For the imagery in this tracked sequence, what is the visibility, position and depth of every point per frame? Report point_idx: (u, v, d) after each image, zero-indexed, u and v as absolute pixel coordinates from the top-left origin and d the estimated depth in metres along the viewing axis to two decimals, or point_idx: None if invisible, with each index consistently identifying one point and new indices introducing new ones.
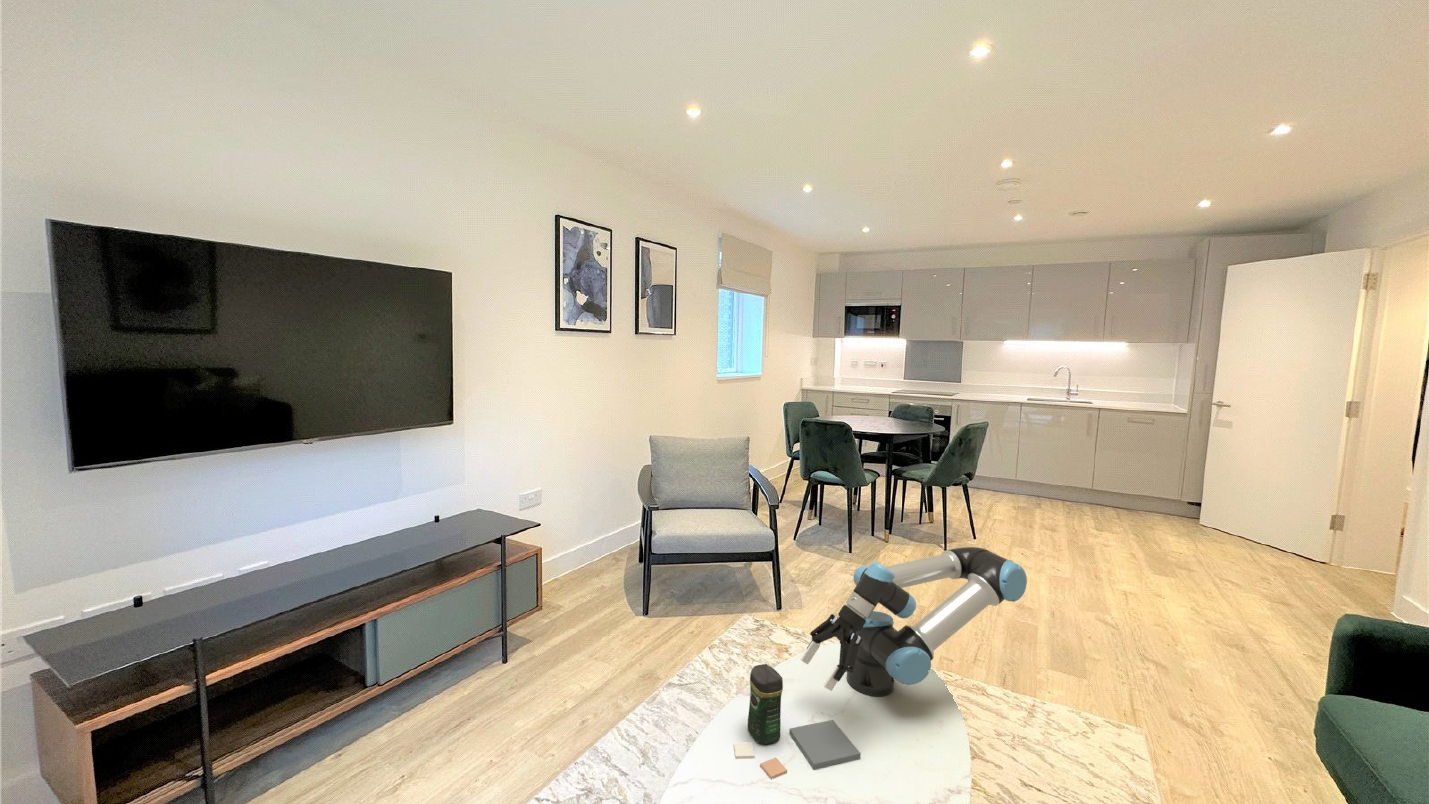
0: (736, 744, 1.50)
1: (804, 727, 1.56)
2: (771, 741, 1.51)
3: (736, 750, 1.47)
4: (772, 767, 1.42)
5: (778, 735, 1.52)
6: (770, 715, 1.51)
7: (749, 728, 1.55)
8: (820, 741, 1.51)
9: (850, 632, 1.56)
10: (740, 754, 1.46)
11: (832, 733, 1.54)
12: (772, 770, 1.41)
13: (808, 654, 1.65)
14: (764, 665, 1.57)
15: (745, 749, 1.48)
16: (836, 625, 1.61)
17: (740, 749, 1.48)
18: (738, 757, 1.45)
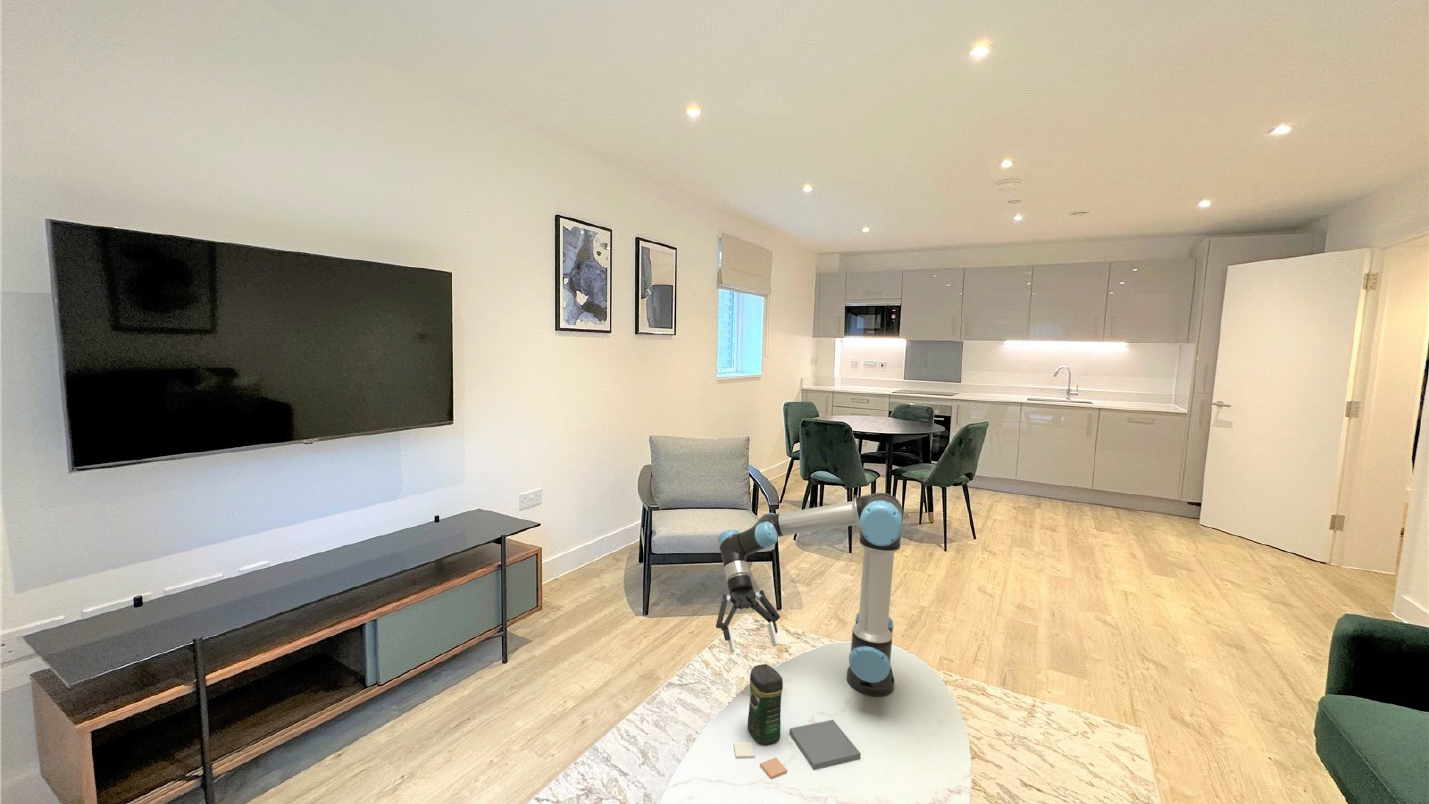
0: (736, 744, 1.50)
1: (804, 727, 1.56)
2: (771, 741, 1.51)
3: (736, 750, 1.47)
4: (772, 767, 1.42)
5: (778, 735, 1.52)
6: (770, 715, 1.51)
7: (749, 728, 1.55)
8: (820, 741, 1.51)
9: None
10: (741, 754, 1.46)
11: (832, 733, 1.54)
12: (772, 770, 1.41)
13: (771, 636, 1.66)
14: (764, 665, 1.57)
15: (745, 749, 1.48)
16: None
17: (740, 749, 1.48)
18: (738, 757, 1.45)
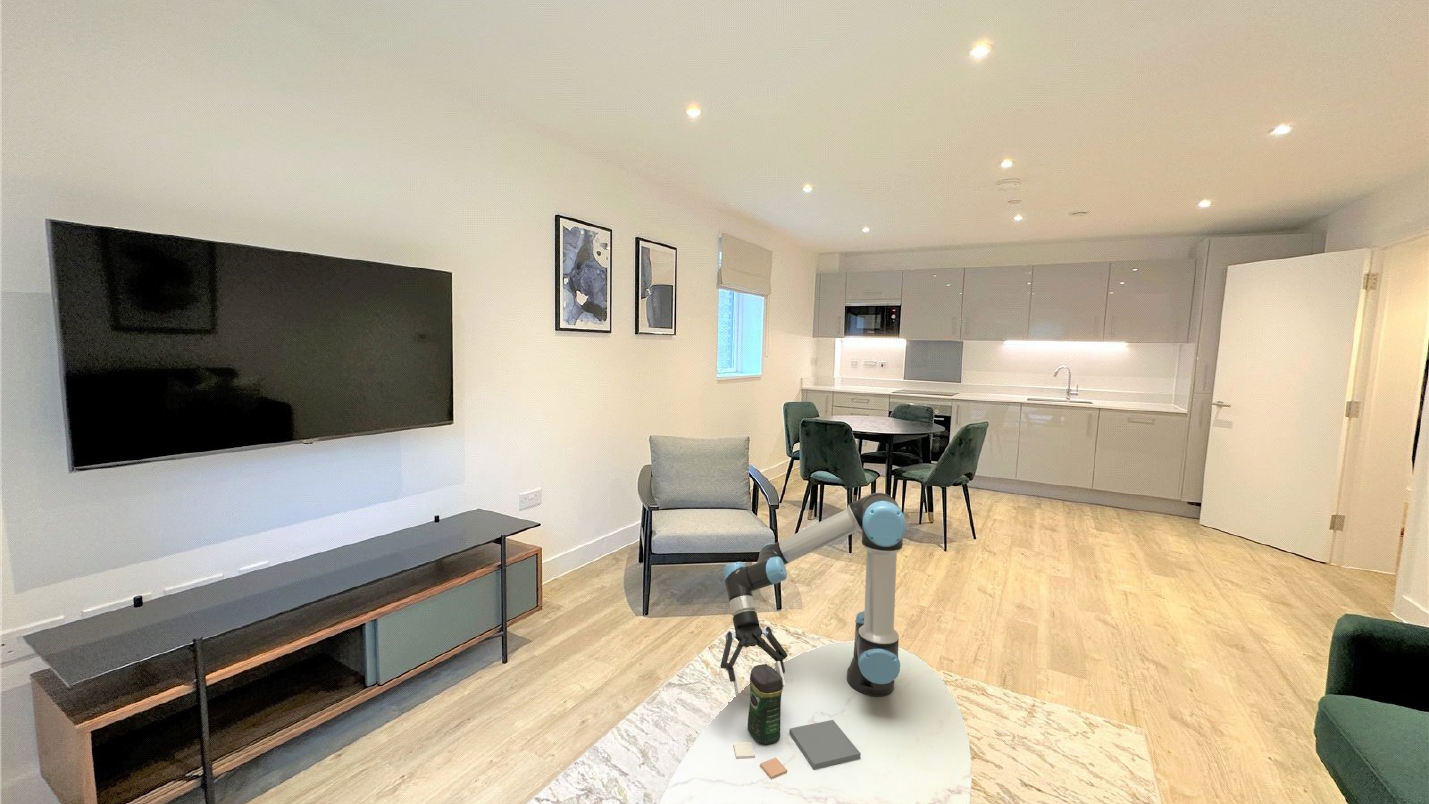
0: (736, 744, 1.50)
1: (804, 727, 1.56)
2: (771, 741, 1.51)
3: (736, 750, 1.47)
4: (772, 767, 1.42)
5: (778, 735, 1.52)
6: (770, 715, 1.51)
7: (749, 728, 1.55)
8: (820, 741, 1.51)
9: None
10: (741, 754, 1.46)
11: (832, 733, 1.54)
12: (772, 770, 1.41)
13: None
14: (764, 665, 1.57)
15: (745, 749, 1.48)
16: None
17: (740, 749, 1.48)
18: (739, 757, 1.45)
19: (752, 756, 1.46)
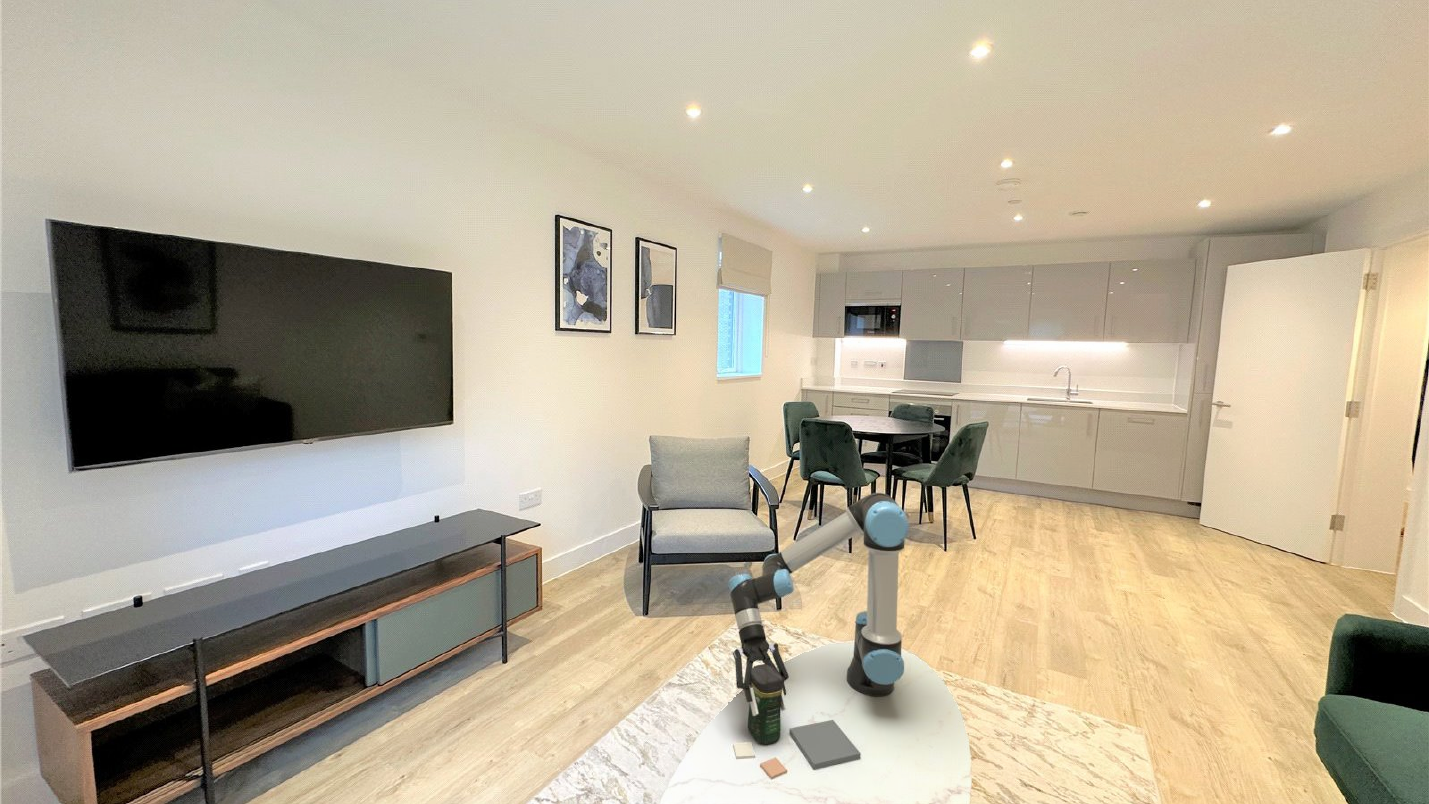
0: (736, 744, 1.49)
1: (804, 727, 1.56)
2: (771, 741, 1.51)
3: (736, 750, 1.47)
4: (772, 767, 1.42)
5: (778, 735, 1.52)
6: (769, 715, 1.51)
7: (749, 728, 1.55)
8: (820, 741, 1.51)
9: None
10: (741, 754, 1.46)
11: (832, 733, 1.54)
12: (772, 770, 1.41)
13: None
14: (764, 665, 1.57)
15: (745, 749, 1.48)
16: None
17: (740, 749, 1.48)
18: (739, 757, 1.45)
19: (752, 756, 1.46)
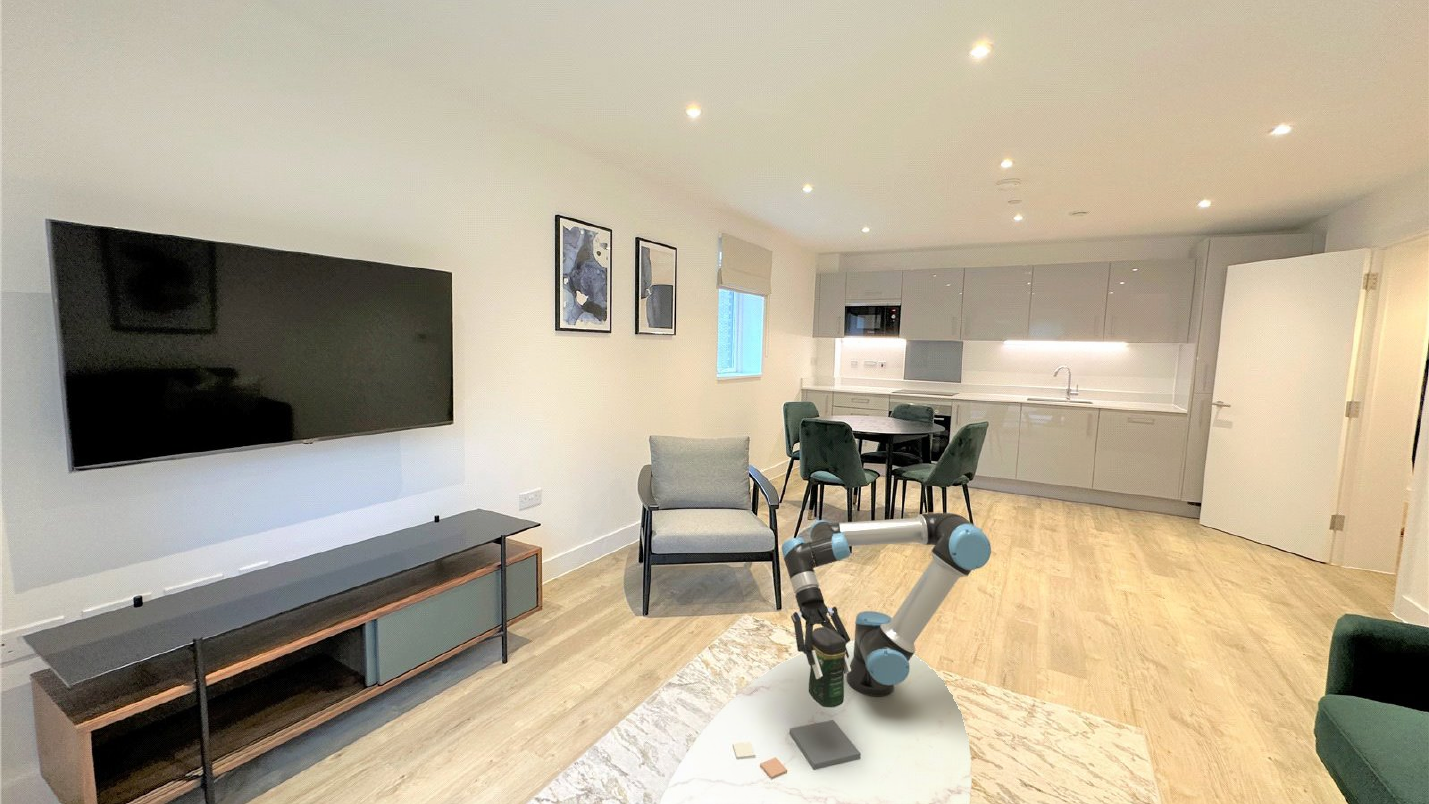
0: (735, 745, 1.49)
1: (804, 727, 1.56)
2: (835, 704, 1.46)
3: (736, 751, 1.47)
4: (772, 767, 1.42)
5: (842, 698, 1.47)
6: (833, 678, 1.45)
7: (811, 692, 1.50)
8: (820, 741, 1.51)
9: None
10: (741, 754, 1.46)
11: (832, 733, 1.54)
12: (772, 770, 1.41)
13: None
14: (825, 628, 1.52)
15: (745, 749, 1.48)
16: None
17: (740, 749, 1.48)
18: (739, 757, 1.45)
19: (752, 756, 1.46)
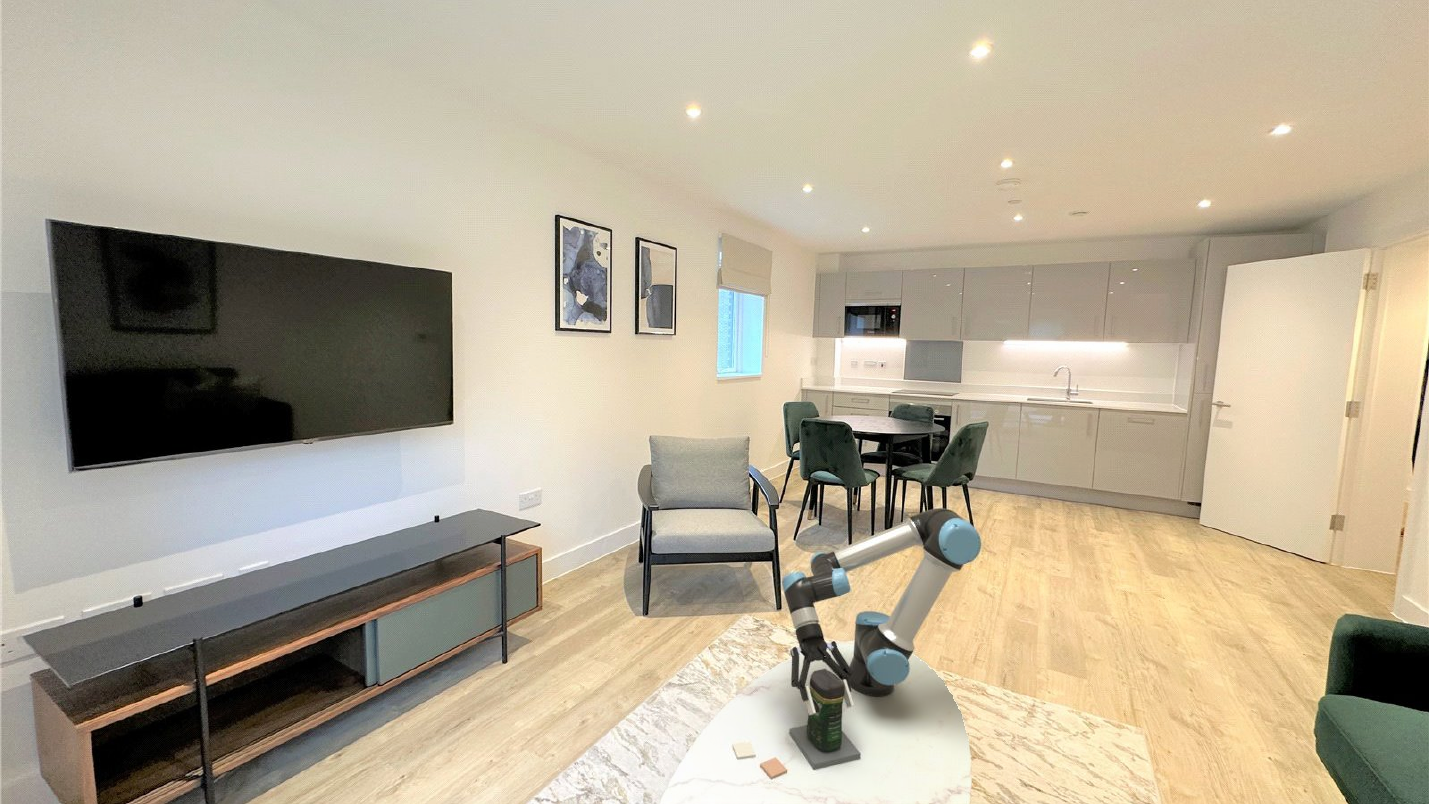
0: (735, 745, 1.49)
1: (804, 727, 1.56)
2: (833, 748, 1.47)
3: (736, 751, 1.47)
4: (772, 767, 1.42)
5: (840, 742, 1.48)
6: (832, 722, 1.46)
7: (809, 735, 1.51)
8: None
9: None
10: (742, 754, 1.46)
11: None
12: (772, 770, 1.41)
13: (845, 696, 1.51)
14: (824, 670, 1.53)
15: (745, 749, 1.48)
16: None
17: (740, 749, 1.48)
18: (740, 758, 1.45)
19: (753, 755, 1.46)
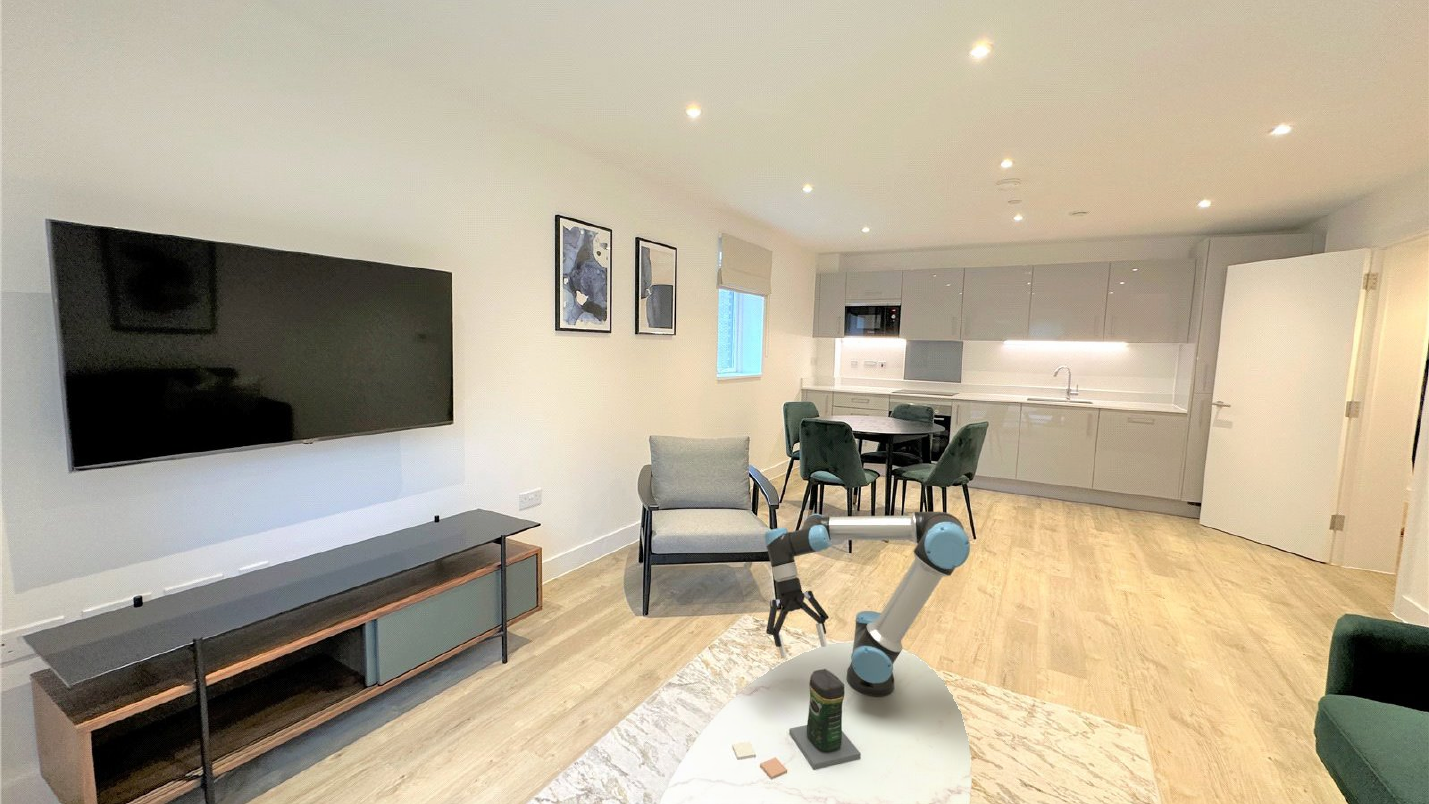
0: (735, 745, 1.49)
1: (804, 727, 1.56)
2: (833, 748, 1.47)
3: (737, 751, 1.47)
4: (772, 767, 1.42)
5: (840, 742, 1.48)
6: (832, 722, 1.46)
7: (809, 735, 1.51)
8: None
9: None
10: (742, 754, 1.46)
11: None
12: (772, 770, 1.41)
13: (820, 637, 1.68)
14: (824, 670, 1.53)
15: (745, 749, 1.48)
16: None
17: (740, 749, 1.48)
18: (740, 758, 1.45)
19: (753, 755, 1.46)
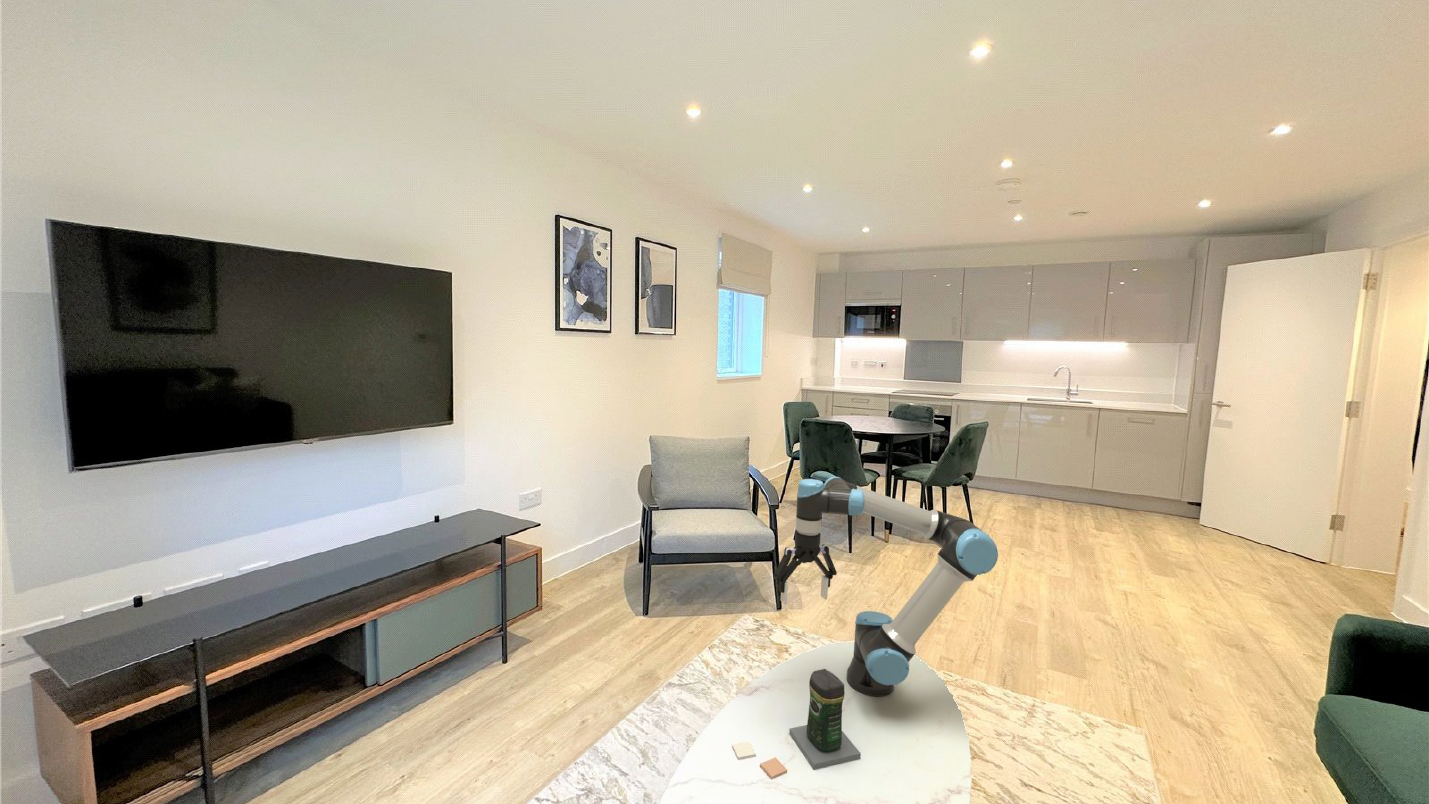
0: (735, 745, 1.49)
1: (804, 727, 1.56)
2: (833, 748, 1.47)
3: (737, 751, 1.47)
4: (772, 767, 1.42)
5: (840, 742, 1.48)
6: (832, 722, 1.46)
7: (809, 735, 1.51)
8: None
9: None
10: (742, 754, 1.46)
11: None
12: (772, 770, 1.41)
13: (822, 588, 1.69)
14: (824, 670, 1.53)
15: (745, 749, 1.48)
16: None
17: (740, 750, 1.48)
18: (740, 758, 1.45)
19: (753, 755, 1.46)
